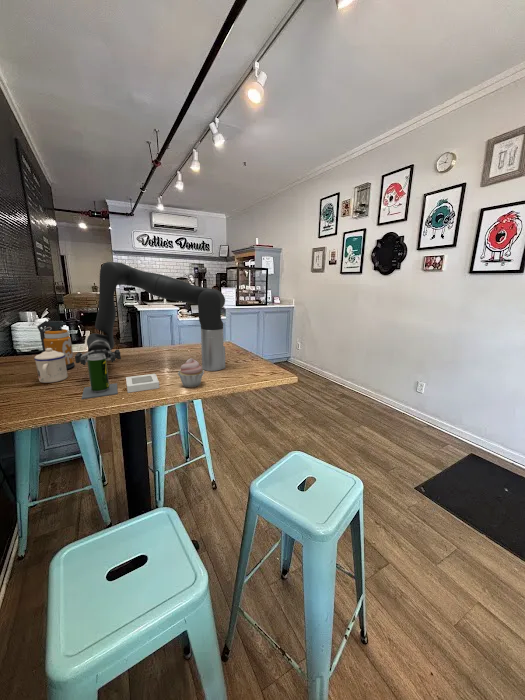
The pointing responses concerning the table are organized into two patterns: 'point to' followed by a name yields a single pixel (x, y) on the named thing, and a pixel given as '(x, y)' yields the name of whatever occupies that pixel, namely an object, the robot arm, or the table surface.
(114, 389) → the mat
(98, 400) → the table surface
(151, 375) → the collar
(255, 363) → the table surface
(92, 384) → the beer can
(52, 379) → the teacup with lid
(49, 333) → the canister
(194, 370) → the cupcake
